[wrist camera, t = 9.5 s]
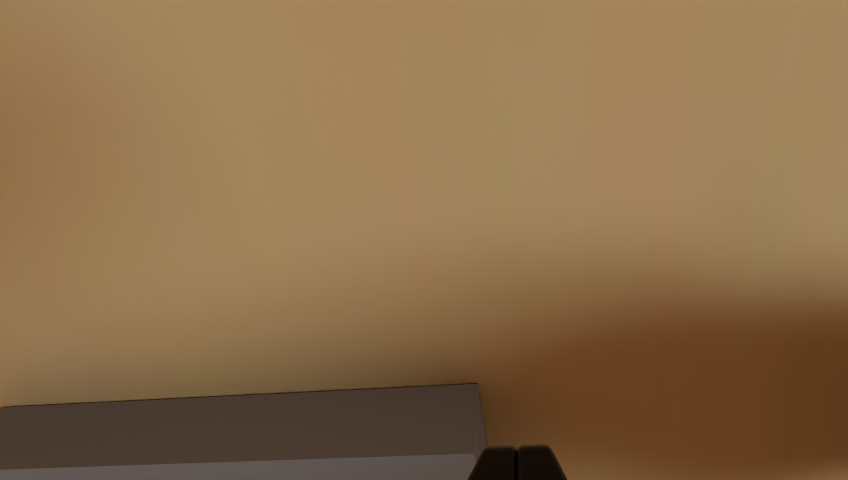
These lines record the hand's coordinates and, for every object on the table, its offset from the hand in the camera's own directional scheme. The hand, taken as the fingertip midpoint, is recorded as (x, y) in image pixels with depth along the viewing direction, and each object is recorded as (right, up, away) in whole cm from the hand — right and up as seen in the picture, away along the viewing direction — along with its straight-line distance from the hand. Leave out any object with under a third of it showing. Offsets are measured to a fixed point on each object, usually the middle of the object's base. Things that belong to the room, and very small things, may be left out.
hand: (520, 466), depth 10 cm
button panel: (-8, -6, +20) cm, 22 cm away
